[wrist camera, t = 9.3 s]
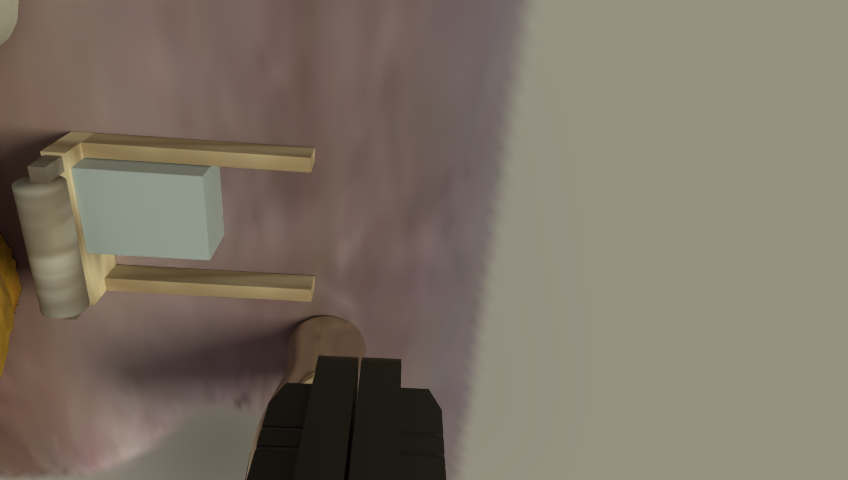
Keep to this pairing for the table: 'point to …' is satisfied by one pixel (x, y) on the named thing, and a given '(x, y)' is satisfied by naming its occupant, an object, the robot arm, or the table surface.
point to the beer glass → (315, 353)
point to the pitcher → (7, 297)
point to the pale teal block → (149, 208)
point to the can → (7, 18)
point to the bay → (95, 273)
